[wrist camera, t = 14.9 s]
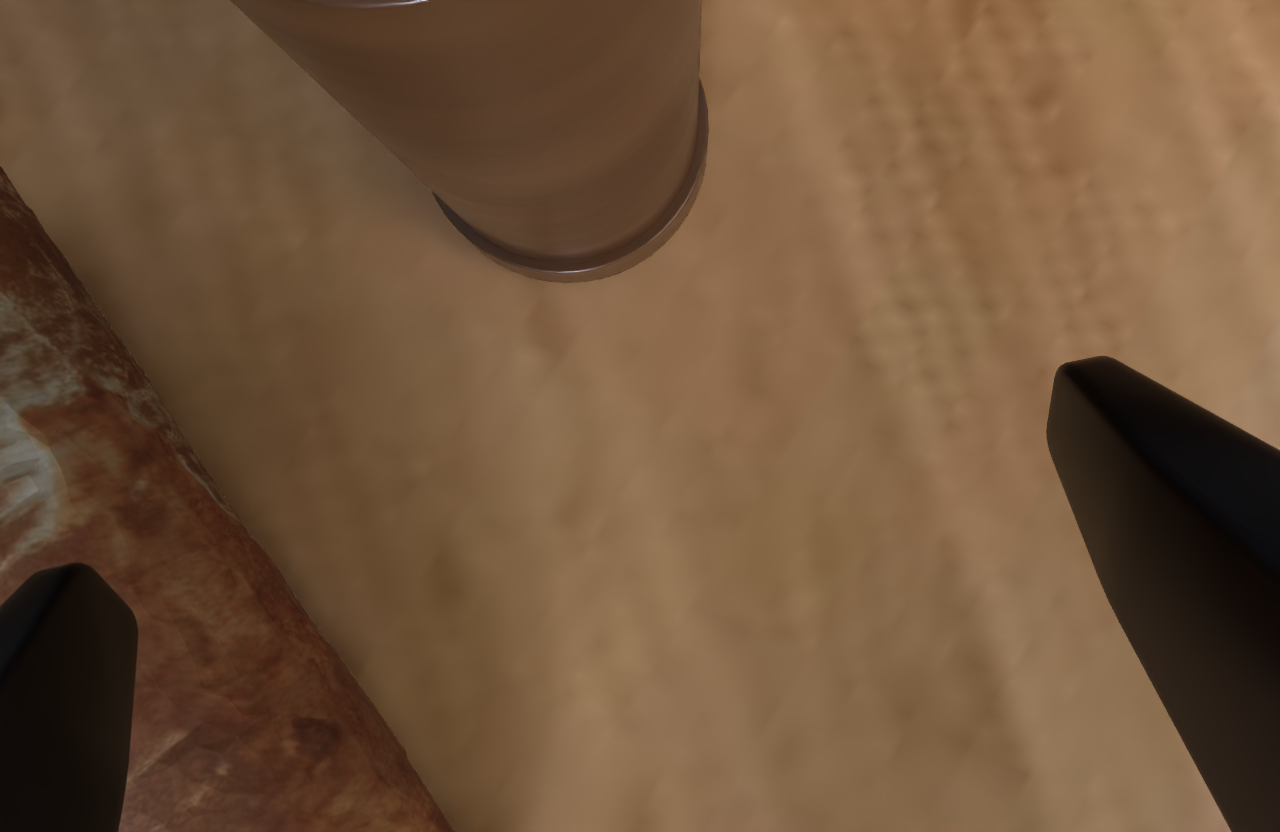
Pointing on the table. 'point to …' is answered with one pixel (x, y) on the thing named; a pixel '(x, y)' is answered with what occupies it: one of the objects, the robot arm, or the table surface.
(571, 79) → the pepper mill
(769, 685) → the table surface
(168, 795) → the brown cylinder
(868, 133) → the table surface
